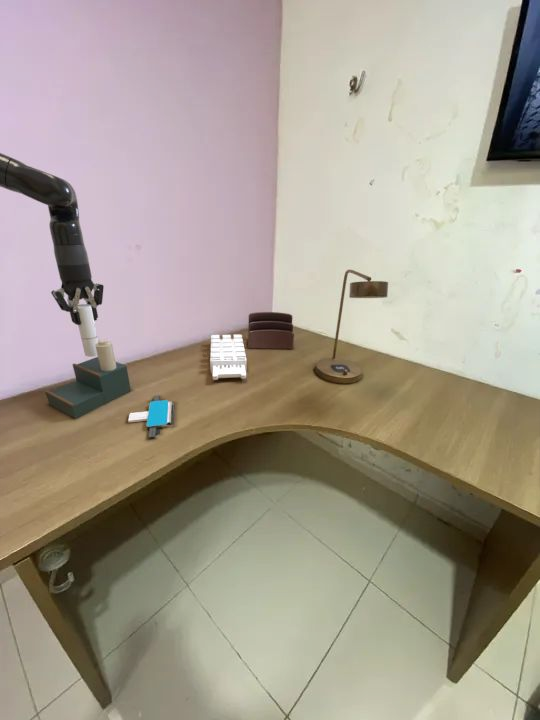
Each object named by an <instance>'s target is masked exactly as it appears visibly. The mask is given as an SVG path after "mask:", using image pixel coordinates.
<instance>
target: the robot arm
mask: <svg viewBox="0 0 540 720" xmlns="http://www.w3.org/2000/svg"><path fill="white" fill-rule="evenodd" d="M0 188H3V189H6V190H8V191H11V192H14V193H17V194H21V195H23V196H26V197H27V198H29V199H31V200H34V201H36V202H39V203H41V204H44V205H47V208H48V213H49V218H50V220H49V224H48V226H49V231H50V236H51V240H52V245H53V253H54V259H55V261H56V266H57V271H58V275H59V279H60V281H61V285H60V288H58V289H57V290H52V291H51V292H50V293H51V295H52V297H53V298H54V301H55V302H56V303H57V305H58V307H59V308H60V310H61V311H64V312H67V313H69V314H70V318H71V322H72V323H74V325H75V326H76V325H77V326H78V325H80V324H81V321H80V317H79V312H77V309H78V305H80V300H84V301H85V302H86V303H85V304H89V305H91V307H92V312H93V317H94V322H95V321H98V318H99V314H98V309H97V308H98V306H100V305H102V304H103V298H104V297H103V296H104V284H101V283H94V282H93V280H92V277H93V276H92V272H91V271H92V270H91V267H90V261H89V256H88V252H87V249H86V246H85V242H84V236H83V231H82V229H81V224H80V213H79V203H78V198H77V194H76V191H75V189H74V187H73V186H72V184H71V183H70V182H68V181H67V180H65V179H63V178H62V177H59V176H56V175H54V174H51V173H48V172H47V171H43V170H40V169H38V168H35V167H33V166H30V165H27V164H25V163H24V162H21V161H20V160H18V159H16V158H13V157H11V156H9V155H6V154H4V153H1V152H0ZM92 292H93V293H92ZM65 294H66V295H67V301H66V299H65Z"/></svg>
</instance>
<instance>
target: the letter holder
mask: <svg viewBox="0 0 540 720" xmlns="http://www.w3.org/2000/svg"><path fill="white" fill-rule="evenodd" d="M293 318H294V317H293V315H292V314H290V313H287V312H277V311H261V312H257V311H256V312H250V313H249V314H248V325H247V326H248V330H247V332H248V334H247V348H248V349H261V350H262V349H265V350H266V349H267V350H293V349H294V343H295V333H294V324H293Z"/></svg>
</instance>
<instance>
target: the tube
mask: <svg viewBox="0 0 540 720" xmlns="http://www.w3.org/2000/svg"><path fill="white" fill-rule="evenodd" d="M77 312H79V317H80V321H81V324H80V325H77V326H78V331H79V335H80V339H81V342H82V348H83V352H84V356H85V357H89V358H90V357H98V355H97V351H96V346H95V344H96V343H98V340H99V338H98V337H99V336H98V332H97V327H96V323H95V321H94V317H93V312H92V307H91V305H89V304H87V303H81V304H78V309H77Z"/></svg>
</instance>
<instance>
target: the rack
mask: <svg viewBox="0 0 540 720" xmlns="http://www.w3.org/2000/svg"><path fill="white" fill-rule="evenodd" d="M71 365H72V368H73V373H74V376H75V380H74V381H71V382H69V383H66V384H64V385H62V386H59V387H56V388H54V389H51V390H47V389H46V390H44V391H45V392H44V393H45V396H46V399H47V402H48V405H50V406H51V407H53V408H55V409H57V410H58V411H60V412H62V413H64V414H66V415H68V416H69V417H71V418H73V419H77V418H80V417H82V416H84V415H85V414H88V413H90V412H92V411H94V410H96V409H98V408H99V407H101V406H104V405H105V404H107V403H110V402H112V401H114V400H115V399H118V398H120V397H121V396H124V395H125V394H128V393H130V392H131V391H132V389H131V384H130V378H129V372H128V366H127V365H126V364H122V363H120V362H118V361H116V366H117V367H116V369H114V370H112V371H101V369H100V365H99V360H98V356H95V357H93V358H91V359H87V360H85V361H82V362H80V363H72V364H71Z"/></svg>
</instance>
